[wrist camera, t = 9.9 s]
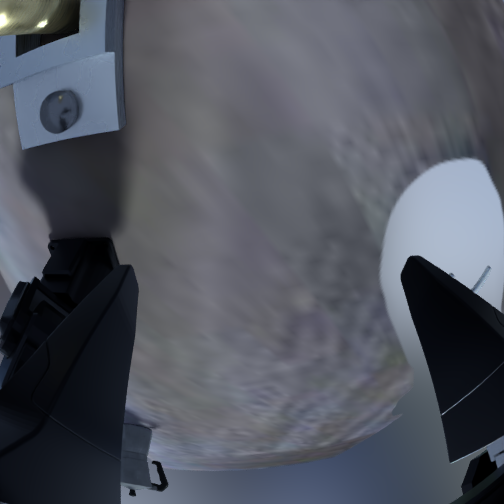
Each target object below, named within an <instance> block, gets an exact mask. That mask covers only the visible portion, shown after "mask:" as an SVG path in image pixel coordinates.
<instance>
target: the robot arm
mask: <svg viewBox="0 0 504 504" xmlns="http://www.w3.org/2000/svg"><path fill="white" fill-rule="evenodd" d="M104 243H106V244H107V245H105V244H104ZM53 246H54V247H53ZM48 249H49V251H50V254H51V257H50V259H49V260H48V262H47V264H46V266H45V267H44V269H43V271H42V274H43V277H42V279H41V281H40V280H39V279H38V278H37V277H34V278H33V279H32V280H31V282H30V283H29V282H27V283H26V282H21V281H19V283H18V284H17V286H16V288H15V290H14V291H13V293H12V295H11V297H10V299H9V301H8V303H7V305H6V307H5V310H4V312H3V314H2V317H1V319H0V331H1V336H0V353H2V354H3V355H4V357H3V360H2V362H1V365H0V504H121V498H120V497H121V461H120V460H121V453H122V437H123V424H124V413H125V404H126V395H127V387H128V379H129V372H130V365H131V359H132V352H133V346H134V340H135V331H136V316H137V304H138V293H139V288H138V283H137V280H136V276H135V273H134V269H133V267H132V266H131V265H118V262H117V259H116V255H115V252H114V249H113V245H112V242H111V240H110V239H108V238H89V239H85V238H77V239H62V240H52V241H50V243H49V244H48ZM401 282H402V286H403V289H404V292H405V296H406V299H407V303H408V306H409V310H410V313H411V316H412V320H413V322H414V325H415V328H416V331H417V334H418V336H419V340H420V342H421V346H422V349H423V352H424V355H425V358H426V361H427V365H428V368H429V371H430V375H431V378H432V382H433V385H434V389H435V393H436V397H437V401H438V405H439V409H440V413H441V419H442V423H443V428H444V433H445V439H446V444H447V450H448V456H449V461H450V463H453V462H455V461H457V460H459V459H462V458H464V457H466V456H468V455H470V454H472V453H474V452H476V451H478V450H480V449H482V448H484V447H485V446H486V447H487V450H485V451H484V452H482V453H481V454H480V455H478V456H477V457H476V458H474V459H473V460H471V461H470V464H469V467H468V470H467V473H466V476H465V478H464V481H463V483H462V486H461V488H462V492H463V495H462V496H461V497H459V498H458V499H457V500H455V501H453V502H452V503H450V504H504V314H503V313H501V312H500V311H499V310H497V309H496V308H495V307H492V305H491V304H489V303H488V302H486V301H485V300H484V299H482V298H481V297H480V296H478V295H477V294H476V293H474V292H473V291H472V290H470V289H469V288H467V287H466V286H465V285H463V284H462V283H460V282H459V281H457V280H456V279H454V278H453V277H452V276H450V275H449V274H447V273H446V272H444V271H443V270H441V269H440V268H438V267H436V266H435V265H433V264H432V263H430V262H429V261H427V260H426V259H424V258H423V257H421V256H410V257H409V258H408V259H407V262H406V264H405V266H404V268H403V270H402V272H401Z"/></svg>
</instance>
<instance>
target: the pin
mask: <svg viewBox="0 0 504 504" xmlns="http://www.w3.org/2000/svg"><path fill="white" fill-rule="evenodd" d="M80 4H81V0H0V36H6V35H21V34H67V33H70V32H72V31H74V30H76V29H77V28H78V27H79V21H80Z"/></svg>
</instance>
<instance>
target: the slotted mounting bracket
mask: <svg viewBox="0 0 504 504" xmlns="http://www.w3.org/2000/svg"><path fill="white" fill-rule="evenodd" d="M123 12H124V0H81V4H80V21H79V33H78V34H74V35H71V36H68V37H65V38H62V39H59V40H57V41H54V42H51V43H49V44H46V45H43V46H41V47H40V37H41V34H21V35H6V36H0V88H3V87H6V86H9V85H12V84H13V88H14V99H15V108H16V115H17V122H18V129H19V134H20V140H21V145H22V150H23V149H27V148H31V147H35V146H39V145H43V144H47V143H51V142H55V141H60V140H65V139H69V138H74V137H80V136H85V135H91V134H97V133H103V132H109V131H116V130H120V129H121V128H122V127H124V126H125V125H126V117H125V104H124V86H123Z"/></svg>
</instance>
